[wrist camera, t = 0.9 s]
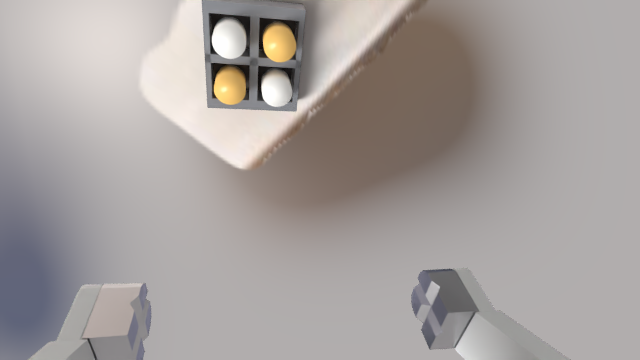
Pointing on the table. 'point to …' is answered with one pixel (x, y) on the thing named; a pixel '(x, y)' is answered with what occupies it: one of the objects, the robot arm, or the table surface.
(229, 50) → the button
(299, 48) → the grey egg tray
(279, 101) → the button
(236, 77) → the button
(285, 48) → the button
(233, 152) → the table surface
